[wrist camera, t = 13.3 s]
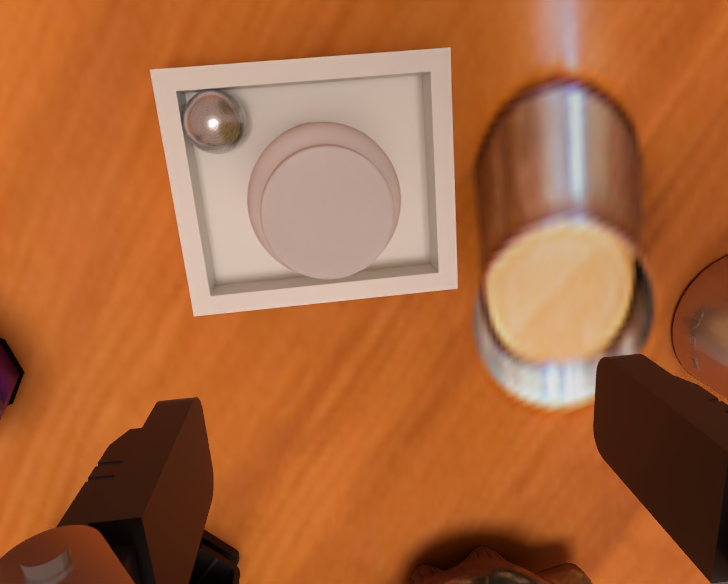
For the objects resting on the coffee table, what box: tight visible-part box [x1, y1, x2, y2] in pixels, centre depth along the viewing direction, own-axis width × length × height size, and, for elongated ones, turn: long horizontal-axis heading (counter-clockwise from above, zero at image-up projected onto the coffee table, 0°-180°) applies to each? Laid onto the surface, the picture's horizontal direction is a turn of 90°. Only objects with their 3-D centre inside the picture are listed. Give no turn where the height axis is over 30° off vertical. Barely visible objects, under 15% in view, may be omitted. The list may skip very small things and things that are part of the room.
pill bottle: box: [247, 122, 401, 279], centre depth 24 cm, size 6×6×11 cm
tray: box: [150, 47, 458, 316], centre depth 29 cm, size 14×12×3 cm
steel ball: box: [183, 89, 247, 154], centre depth 27 cm, size 3×3×3 cm
